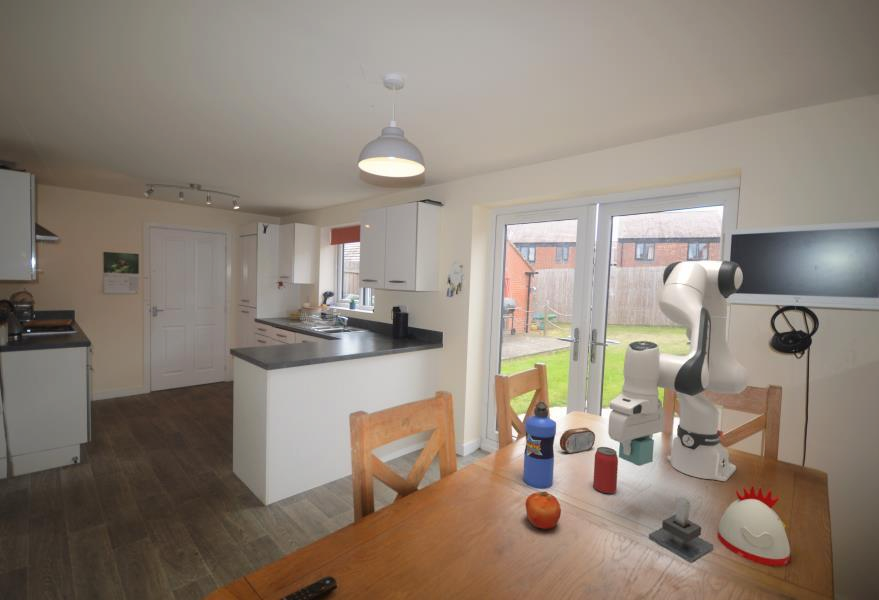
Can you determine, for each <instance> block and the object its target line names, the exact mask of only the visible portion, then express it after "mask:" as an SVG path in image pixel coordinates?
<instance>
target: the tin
mask: <svg viewBox="0 0 879 600" xmlns="http://www.w3.org/2000/svg"><path fill="white" fill-rule="evenodd" d="M595 441H596V434H595V433H594V431H593V430H591V429H589V428H588V427H578V428H571V429H567V430H565V431H564V432H563V433H562V435H561V436H560V439H559V447H560V448H561V450H562V451H564V452H566V453H568V454H575V453H577V454H578V453H583V452H588V451H589V450H591V449H592V448H593V446H594V445H595Z"/></svg>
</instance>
